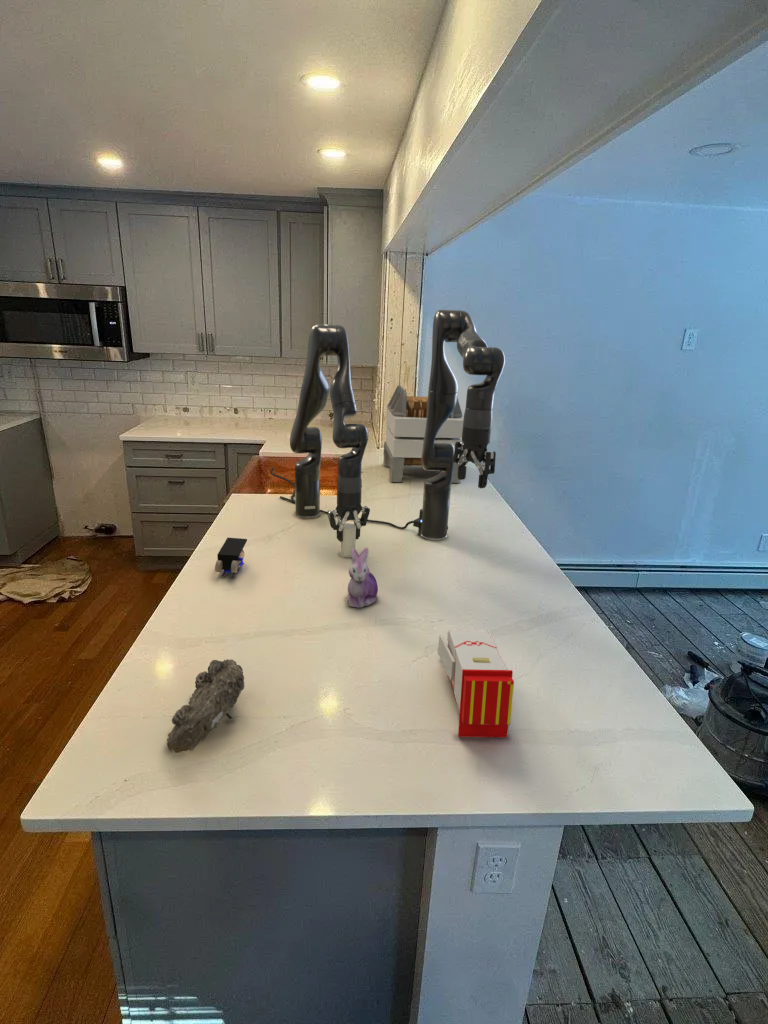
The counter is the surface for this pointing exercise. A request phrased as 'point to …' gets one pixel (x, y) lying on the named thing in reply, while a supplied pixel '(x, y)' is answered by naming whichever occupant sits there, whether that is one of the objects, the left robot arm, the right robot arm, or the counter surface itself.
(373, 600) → the figurine
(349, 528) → the canister
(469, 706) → the toy
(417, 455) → the grey slatted box
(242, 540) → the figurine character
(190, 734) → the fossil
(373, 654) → the counter surface
